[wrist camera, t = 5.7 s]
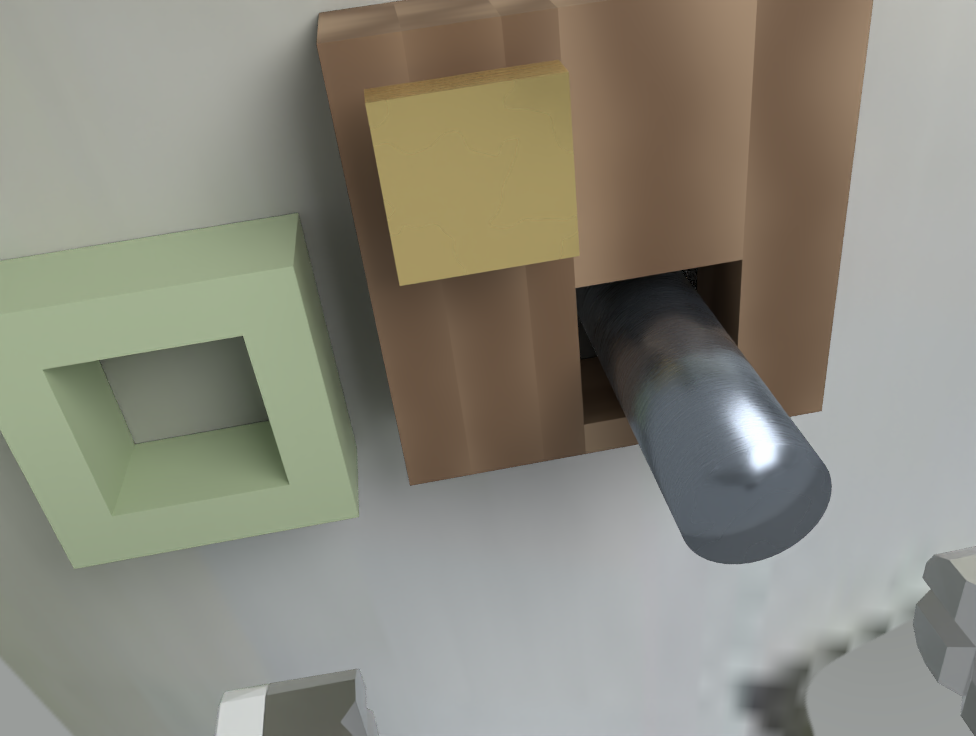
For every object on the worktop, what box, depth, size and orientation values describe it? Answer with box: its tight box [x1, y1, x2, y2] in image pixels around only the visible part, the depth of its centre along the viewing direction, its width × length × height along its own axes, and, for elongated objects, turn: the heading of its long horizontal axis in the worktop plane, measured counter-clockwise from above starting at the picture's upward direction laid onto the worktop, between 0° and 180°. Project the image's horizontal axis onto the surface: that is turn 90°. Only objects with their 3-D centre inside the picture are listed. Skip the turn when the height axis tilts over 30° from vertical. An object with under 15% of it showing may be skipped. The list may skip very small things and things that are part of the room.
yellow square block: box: [364, 60, 580, 286], centre depth 25 cm, size 5×5×5 cm
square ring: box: [0, 213, 359, 569], centre depth 30 cm, size 10×10×4 cm
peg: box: [575, 270, 832, 564], centre depth 27 cm, size 4×4×12 cm
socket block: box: [316, 0, 873, 486], centre depth 29 cm, size 15×15×4 cm
